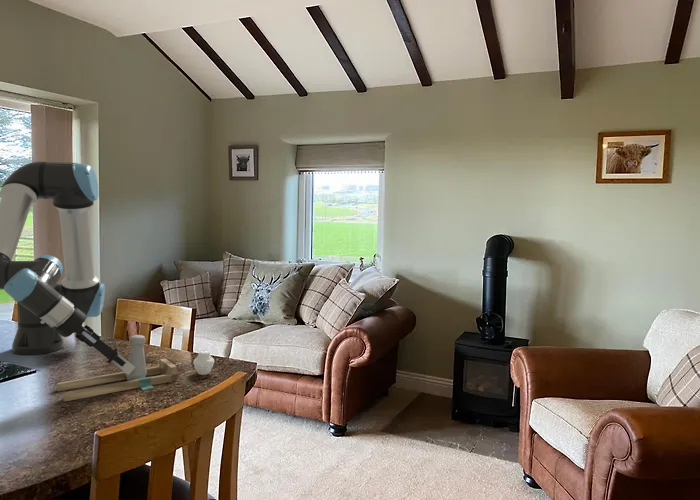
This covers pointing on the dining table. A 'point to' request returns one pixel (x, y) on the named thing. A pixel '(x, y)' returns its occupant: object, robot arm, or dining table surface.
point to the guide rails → (144, 383)
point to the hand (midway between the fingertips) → (131, 370)
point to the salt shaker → (137, 358)
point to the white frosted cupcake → (203, 363)
